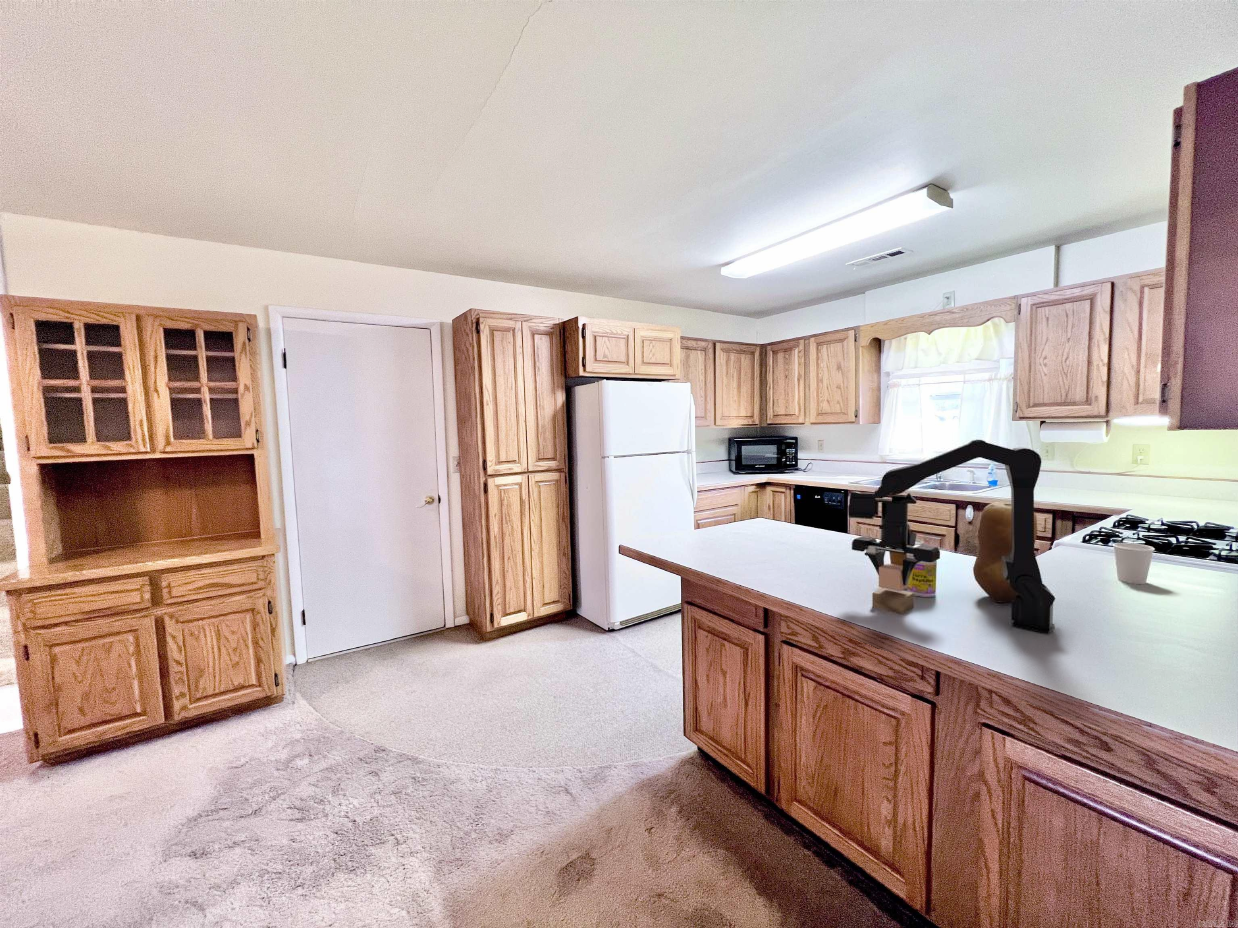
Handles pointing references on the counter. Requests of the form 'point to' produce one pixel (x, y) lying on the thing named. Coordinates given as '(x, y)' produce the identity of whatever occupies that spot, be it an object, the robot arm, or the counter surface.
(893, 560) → the disposable coffee cup
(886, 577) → the cube
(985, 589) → the butternut squash
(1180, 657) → the counter surface
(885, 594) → the brown box
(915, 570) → the supplement bottle
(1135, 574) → the dixie cup
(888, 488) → the robot arm
